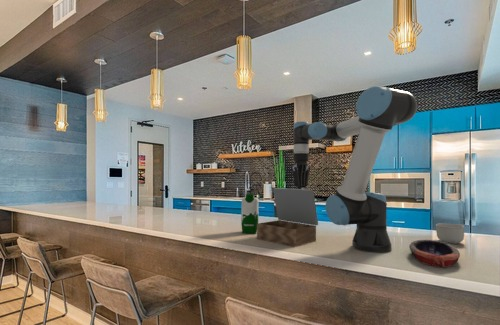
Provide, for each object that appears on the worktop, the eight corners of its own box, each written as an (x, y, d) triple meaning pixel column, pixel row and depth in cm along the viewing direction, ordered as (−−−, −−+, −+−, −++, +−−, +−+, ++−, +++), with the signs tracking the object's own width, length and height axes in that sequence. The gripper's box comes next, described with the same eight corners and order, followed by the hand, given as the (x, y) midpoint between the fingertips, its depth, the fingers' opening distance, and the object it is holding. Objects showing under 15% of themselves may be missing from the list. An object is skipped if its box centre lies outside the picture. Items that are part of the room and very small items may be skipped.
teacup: (469, 245, 130) (468, 227, 131) (441, 244, 133) (441, 226, 133) (454, 239, 144) (454, 222, 144) (429, 238, 146) (429, 221, 147)
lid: (316, 225, 137) (318, 224, 138) (311, 190, 134) (313, 189, 135) (278, 219, 153) (280, 218, 154) (272, 188, 151) (274, 187, 152)
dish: (454, 252, 119) (454, 240, 119) (465, 275, 92) (465, 258, 93) (410, 247, 127) (410, 236, 127) (408, 267, 100) (408, 251, 100)
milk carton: (240, 233, 152) (240, 194, 153) (242, 230, 161) (242, 193, 162) (257, 234, 151) (257, 194, 152) (258, 231, 160) (259, 193, 161)
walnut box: (316, 241, 137) (316, 225, 137) (294, 246, 125) (294, 230, 126) (278, 234, 152) (279, 220, 153) (257, 238, 141) (257, 223, 141)
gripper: (302, 154, 156) (302, 199, 155) (286, 152, 147) (286, 201, 146) (314, 153, 151) (314, 200, 150) (299, 152, 142) (299, 202, 141)
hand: (300, 200), depth 148 cm, fingers closed
